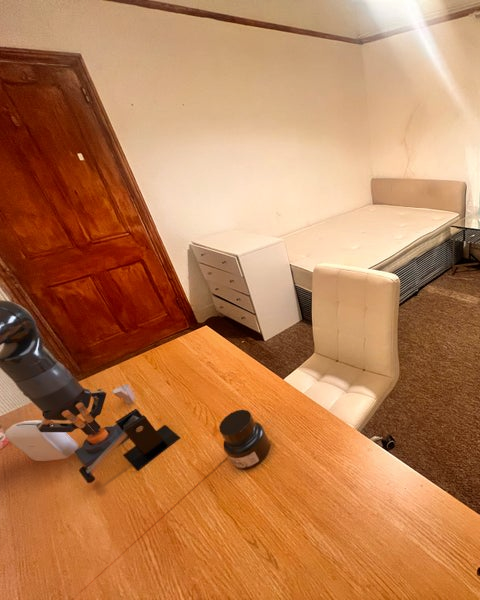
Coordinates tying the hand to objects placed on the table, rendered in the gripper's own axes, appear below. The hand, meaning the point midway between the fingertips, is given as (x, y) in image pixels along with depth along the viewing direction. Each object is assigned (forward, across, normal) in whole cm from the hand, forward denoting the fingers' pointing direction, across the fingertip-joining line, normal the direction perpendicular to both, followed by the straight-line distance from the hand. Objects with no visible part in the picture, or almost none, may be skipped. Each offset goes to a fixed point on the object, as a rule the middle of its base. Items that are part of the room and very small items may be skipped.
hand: (94, 432), depth 78 cm
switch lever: (-1, -1, +12) cm, 12 cm away
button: (+2, 0, 0) cm, 2 cm away
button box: (+6, 0, 0) cm, 6 cm away
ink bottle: (+6, -18, +36) cm, 41 cm away
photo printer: (+6, +8, -10) cm, 14 cm away
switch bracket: (+6, -6, +12) cm, 15 cm away
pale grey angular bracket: (+6, -10, -12) cm, 17 cm away
